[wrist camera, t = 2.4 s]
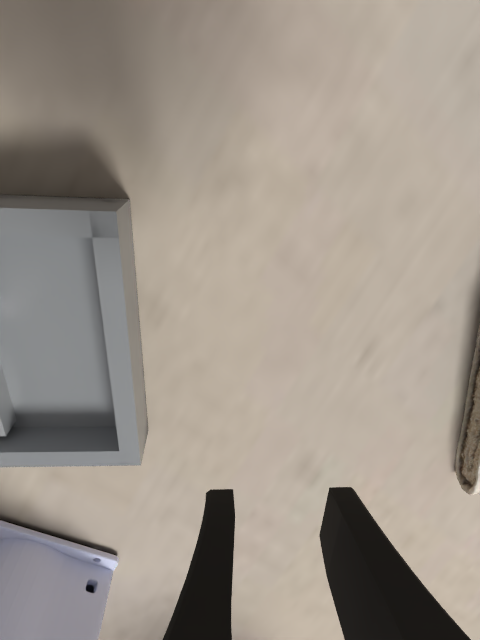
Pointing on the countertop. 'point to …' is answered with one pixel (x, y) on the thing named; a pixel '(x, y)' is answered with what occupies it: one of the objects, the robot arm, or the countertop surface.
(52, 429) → the tray
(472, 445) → the washcloth
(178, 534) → the countertop surface
